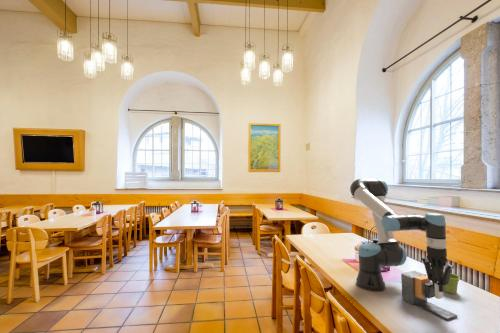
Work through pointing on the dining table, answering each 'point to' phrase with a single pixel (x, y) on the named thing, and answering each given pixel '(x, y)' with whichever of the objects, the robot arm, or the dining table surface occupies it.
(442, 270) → the robot arm
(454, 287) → the plant pot
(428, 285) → the shaft
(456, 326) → the dining table surface
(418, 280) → the block
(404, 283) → the block
